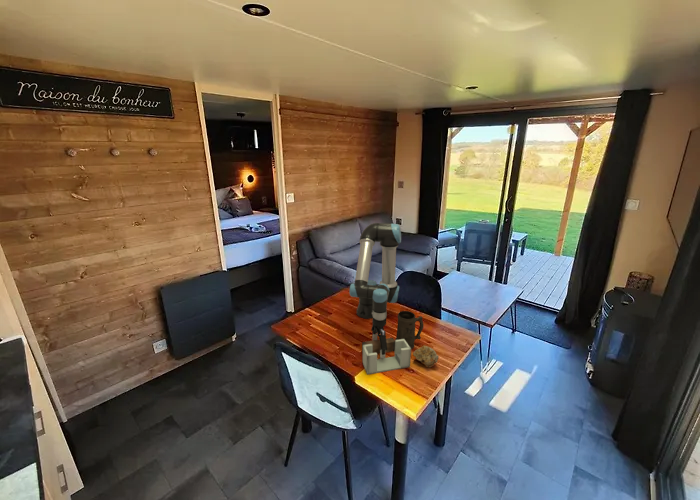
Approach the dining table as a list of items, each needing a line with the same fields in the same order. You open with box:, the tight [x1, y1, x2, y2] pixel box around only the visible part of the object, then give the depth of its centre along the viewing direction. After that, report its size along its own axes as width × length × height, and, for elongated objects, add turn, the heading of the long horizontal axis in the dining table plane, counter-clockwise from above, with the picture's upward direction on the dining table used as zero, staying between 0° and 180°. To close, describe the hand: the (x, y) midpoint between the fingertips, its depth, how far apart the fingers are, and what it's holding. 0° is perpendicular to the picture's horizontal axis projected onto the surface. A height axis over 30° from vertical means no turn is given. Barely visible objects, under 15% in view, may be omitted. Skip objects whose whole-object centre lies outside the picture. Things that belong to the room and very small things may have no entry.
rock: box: [412, 345, 440, 368], centre depth 155 cm, size 12×10×10 cm
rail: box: [361, 337, 396, 355], centre depth 166 cm, size 18×4×6 cm, turn 103°
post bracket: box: [361, 339, 412, 376], centre depth 154 cm, size 9×23×11 cm, turn 103°
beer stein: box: [395, 310, 424, 350], centre depth 170 cm, size 15×11×20 cm
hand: (378, 351), depth 167 cm, fingers open, 13 cm apart
